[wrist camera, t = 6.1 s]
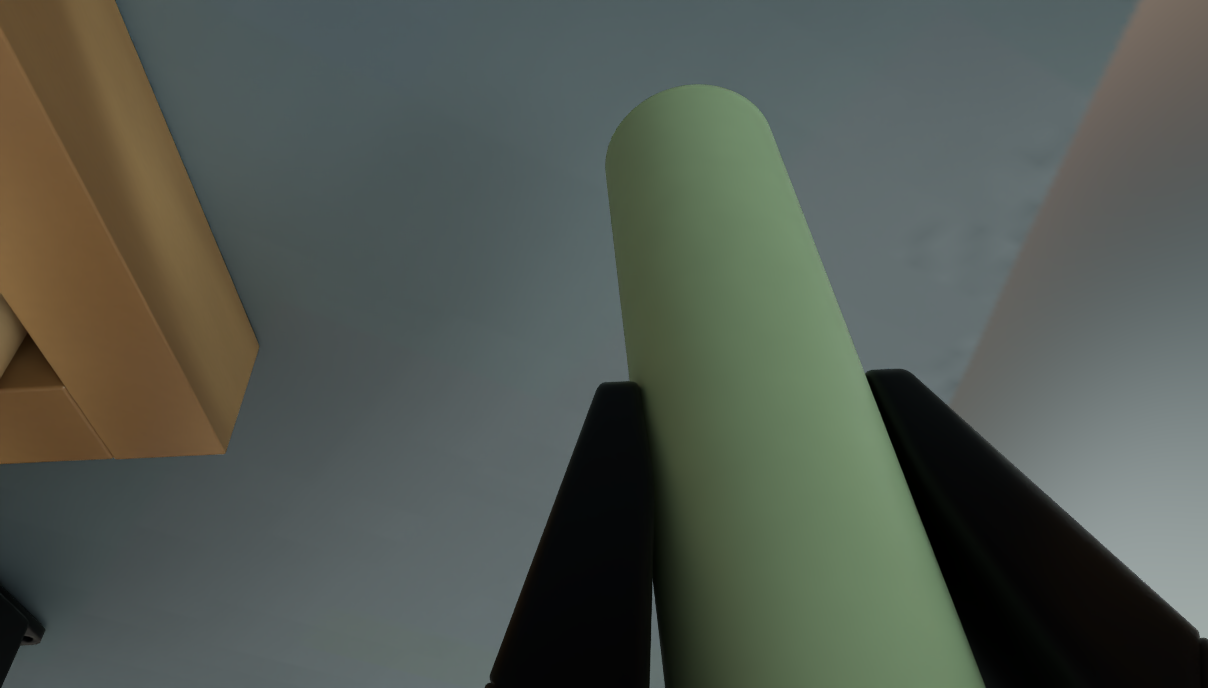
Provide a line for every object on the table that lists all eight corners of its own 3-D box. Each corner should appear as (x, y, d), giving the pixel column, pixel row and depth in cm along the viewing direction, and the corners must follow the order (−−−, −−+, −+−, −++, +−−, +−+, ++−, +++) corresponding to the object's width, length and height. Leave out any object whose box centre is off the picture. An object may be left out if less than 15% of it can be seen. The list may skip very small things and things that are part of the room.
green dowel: (605, 229, 13) (681, 951, 6) (604, 84, 11) (709, 871, 5) (760, 223, 13) (986, 928, 6) (785, 78, 11) (1122, 841, 5)
